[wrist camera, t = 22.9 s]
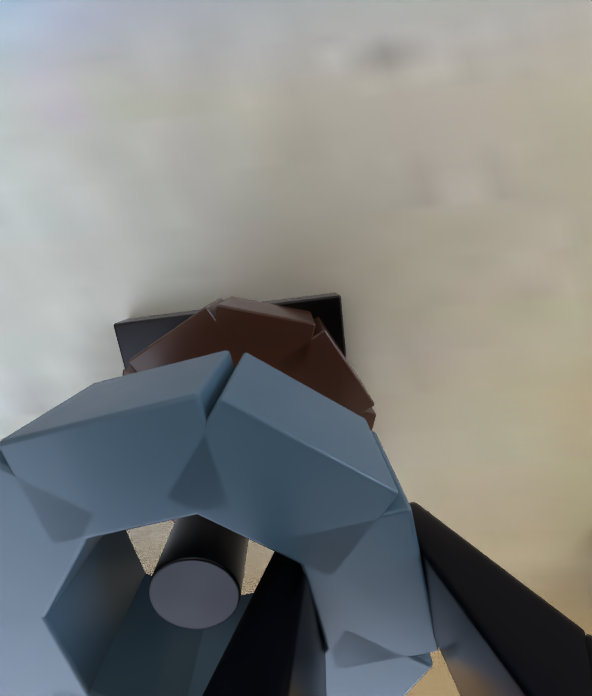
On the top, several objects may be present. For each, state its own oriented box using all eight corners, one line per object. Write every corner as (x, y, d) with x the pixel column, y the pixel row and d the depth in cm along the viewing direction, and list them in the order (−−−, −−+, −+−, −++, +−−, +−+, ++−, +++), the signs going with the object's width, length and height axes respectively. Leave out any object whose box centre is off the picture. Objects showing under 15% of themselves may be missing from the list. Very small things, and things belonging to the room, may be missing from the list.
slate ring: (121, 675, 10) (62, 818, 7) (-18, 410, 8) (-168, 482, 5) (415, 617, 9) (459, 749, 7) (350, 318, 7) (381, 348, 5)
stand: (353, 476, 17) (428, 726, 8) (171, 498, 17) (39, 770, 8) (336, 292, 14) (415, 345, 5) (126, 318, 14) (-134, 414, 6)
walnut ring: (330, 505, 16) (338, 552, 13) (140, 476, 15) (111, 519, 12) (377, 324, 14) (398, 338, 11) (159, 281, 13) (128, 287, 10)
